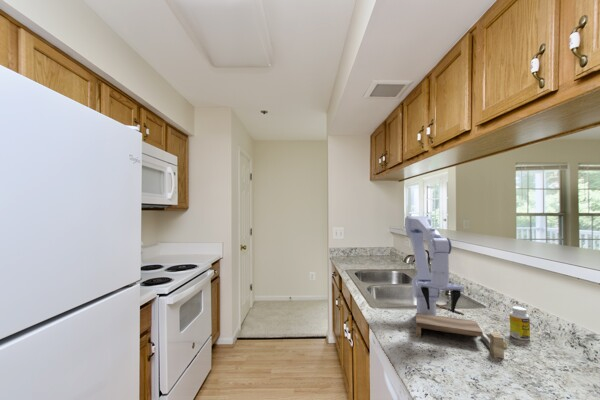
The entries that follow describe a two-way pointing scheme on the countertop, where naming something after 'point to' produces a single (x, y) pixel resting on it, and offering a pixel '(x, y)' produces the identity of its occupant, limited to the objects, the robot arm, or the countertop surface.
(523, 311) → the supplement bottle
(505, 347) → the brass disc
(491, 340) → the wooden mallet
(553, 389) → the countertop surface
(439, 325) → the low wooden bench
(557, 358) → the countertop surface
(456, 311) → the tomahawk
